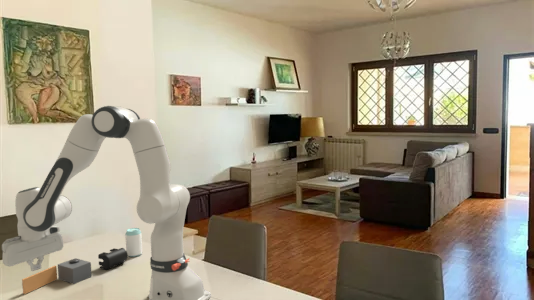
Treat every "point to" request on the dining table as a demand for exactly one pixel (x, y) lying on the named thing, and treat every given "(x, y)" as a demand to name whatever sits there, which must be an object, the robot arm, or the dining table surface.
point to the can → (133, 242)
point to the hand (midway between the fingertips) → (36, 269)
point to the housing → (74, 270)
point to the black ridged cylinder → (112, 258)
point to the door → (39, 279)
